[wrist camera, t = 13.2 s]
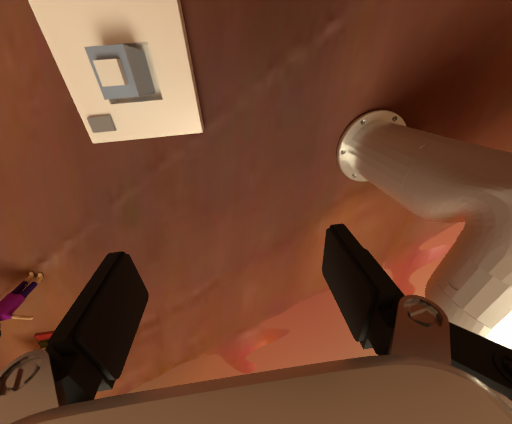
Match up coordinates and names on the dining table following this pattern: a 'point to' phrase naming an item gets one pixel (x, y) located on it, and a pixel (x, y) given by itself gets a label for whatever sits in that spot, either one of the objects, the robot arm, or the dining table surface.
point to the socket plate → (134, 35)
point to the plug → (120, 71)
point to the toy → (18, 298)
